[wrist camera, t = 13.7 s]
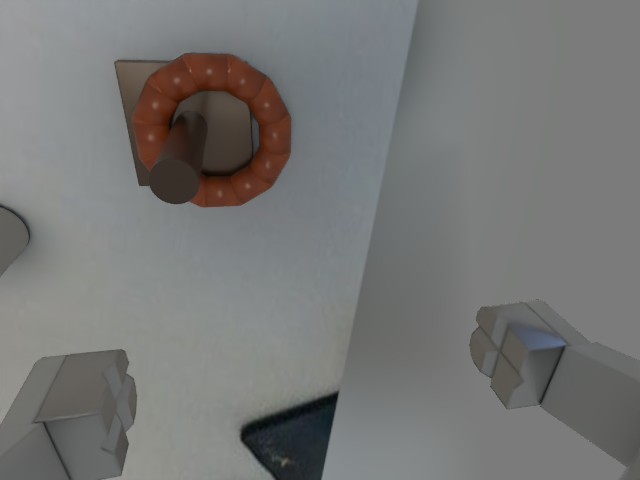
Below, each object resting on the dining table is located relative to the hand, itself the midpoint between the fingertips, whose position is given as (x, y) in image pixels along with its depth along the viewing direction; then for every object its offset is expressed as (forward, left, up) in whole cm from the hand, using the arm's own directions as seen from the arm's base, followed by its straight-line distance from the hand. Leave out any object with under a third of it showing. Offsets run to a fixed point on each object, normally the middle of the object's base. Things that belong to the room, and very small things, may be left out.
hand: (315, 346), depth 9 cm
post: (+5, +1, -26) cm, 27 cm away
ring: (+3, +1, -24) cm, 24 cm away
